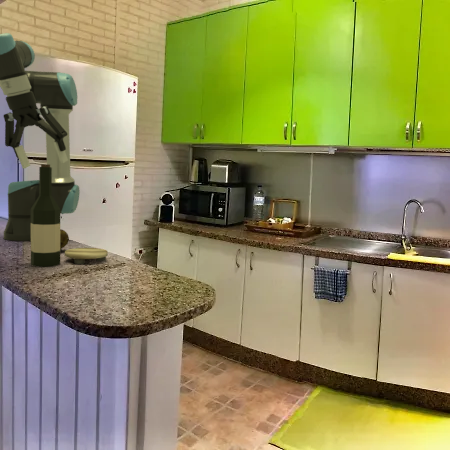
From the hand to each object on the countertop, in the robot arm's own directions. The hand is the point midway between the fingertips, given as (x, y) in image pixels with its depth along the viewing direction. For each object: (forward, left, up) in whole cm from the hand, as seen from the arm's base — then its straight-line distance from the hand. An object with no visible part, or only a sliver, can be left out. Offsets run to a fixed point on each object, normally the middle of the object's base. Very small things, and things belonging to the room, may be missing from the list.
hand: (45, 164), depth 137 cm
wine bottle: (+3, 0, -30) cm, 30 cm away
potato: (-20, +2, -30) cm, 36 cm away
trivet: (-1, +12, -30) cm, 32 cm away
